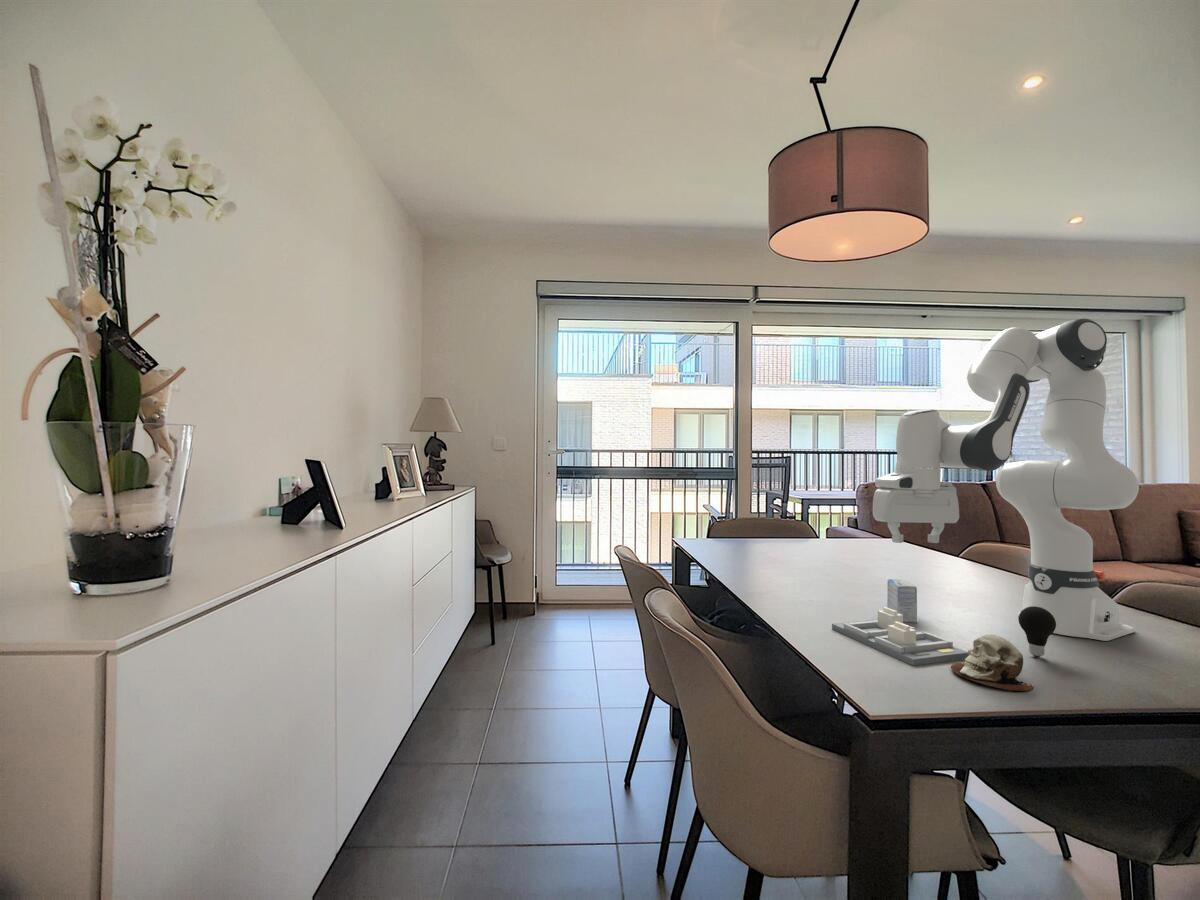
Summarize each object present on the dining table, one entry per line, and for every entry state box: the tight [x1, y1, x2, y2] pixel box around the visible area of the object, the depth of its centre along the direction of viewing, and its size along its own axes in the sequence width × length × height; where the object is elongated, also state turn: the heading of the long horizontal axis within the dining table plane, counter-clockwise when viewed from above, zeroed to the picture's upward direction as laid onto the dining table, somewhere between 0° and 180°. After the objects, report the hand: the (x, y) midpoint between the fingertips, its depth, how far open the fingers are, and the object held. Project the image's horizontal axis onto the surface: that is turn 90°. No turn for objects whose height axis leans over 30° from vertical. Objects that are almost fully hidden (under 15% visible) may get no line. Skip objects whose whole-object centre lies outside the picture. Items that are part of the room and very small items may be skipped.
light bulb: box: [1017, 606, 1056, 658], centre depth 109 cm, size 6×6×10 cm
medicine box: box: [886, 578, 918, 624], centre depth 135 cm, size 8×4×9 cm, turn 168°
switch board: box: [831, 618, 969, 667], centre depth 117 cm, size 22×14×2 cm, turn 17°
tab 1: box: [877, 606, 904, 629], centre depth 122 cm, size 3×4×4 cm
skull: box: [950, 634, 1034, 692], centre depth 99 cm, size 12×10×10 cm
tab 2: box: [888, 621, 917, 646], centre depth 111 cm, size 3×4×4 cm
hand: (915, 542), depth 123 cm, fingers open, 8 cm apart
